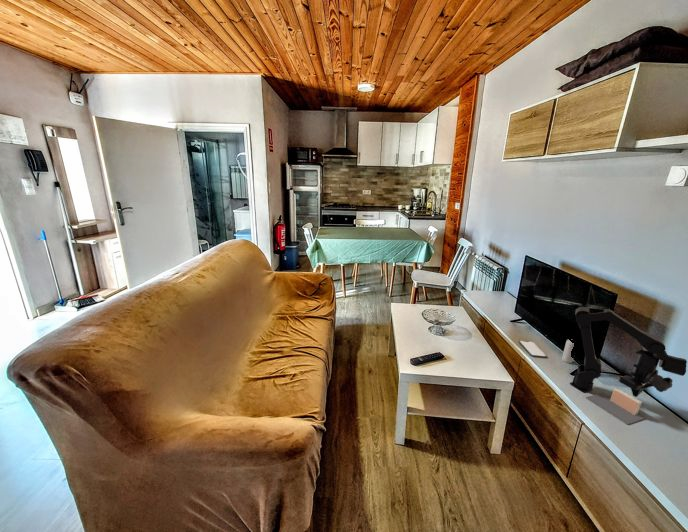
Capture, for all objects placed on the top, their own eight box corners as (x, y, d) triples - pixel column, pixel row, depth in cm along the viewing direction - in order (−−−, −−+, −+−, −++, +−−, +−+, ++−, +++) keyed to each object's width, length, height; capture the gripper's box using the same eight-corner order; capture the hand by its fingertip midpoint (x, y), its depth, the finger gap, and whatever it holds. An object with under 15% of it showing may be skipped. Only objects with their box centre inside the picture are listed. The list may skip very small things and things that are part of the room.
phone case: (547, 359, 165) (532, 343, 180) (548, 356, 165) (533, 341, 180) (530, 357, 166) (517, 342, 181) (531, 355, 165) (518, 340, 181)
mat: (585, 398, 134) (585, 397, 134) (603, 393, 138) (603, 392, 138) (627, 424, 120) (627, 423, 120) (645, 418, 124) (646, 417, 124)
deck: (610, 400, 133) (613, 388, 131) (613, 399, 134) (617, 388, 132) (634, 414, 125) (638, 402, 123) (637, 413, 126) (642, 402, 124)
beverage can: (559, 359, 164) (565, 340, 161) (564, 357, 166) (569, 338, 163) (569, 364, 160) (575, 344, 157) (573, 362, 163) (579, 342, 159)
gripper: (657, 380, 116) (644, 413, 120) (685, 373, 122) (671, 404, 126) (623, 364, 126) (612, 395, 130) (651, 358, 132) (639, 387, 136)
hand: (635, 396), depth 130 cm, fingers closed
